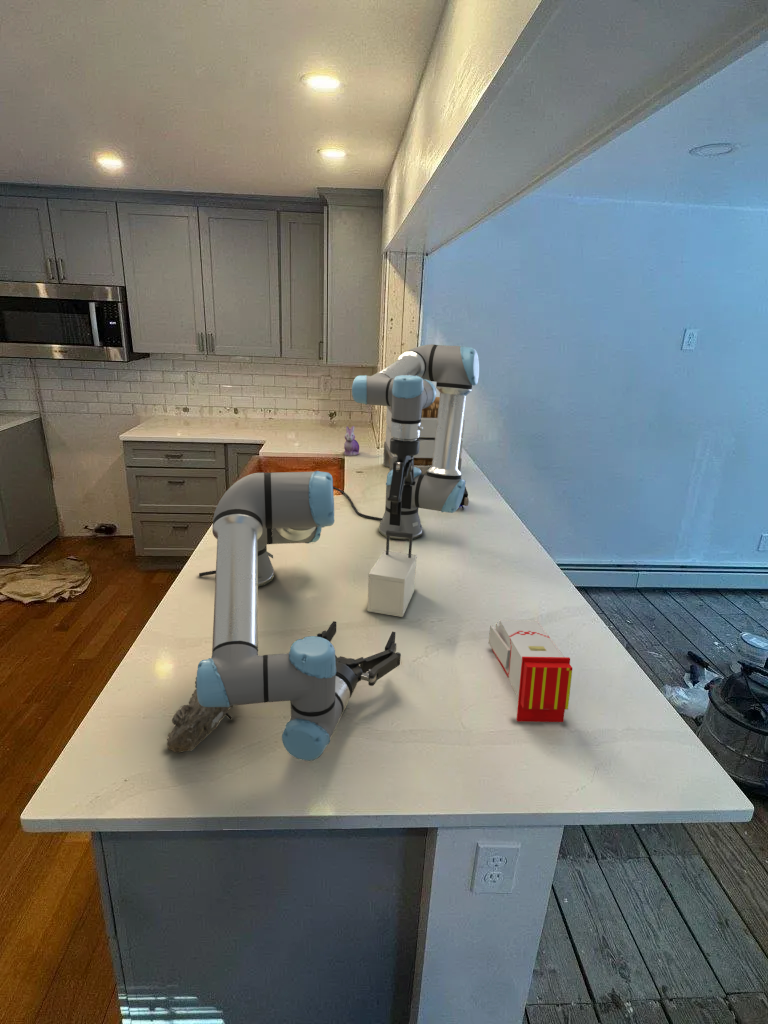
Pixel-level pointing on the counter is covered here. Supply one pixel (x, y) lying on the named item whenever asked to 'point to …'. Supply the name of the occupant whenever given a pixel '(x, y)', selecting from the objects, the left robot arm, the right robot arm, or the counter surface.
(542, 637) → the toy
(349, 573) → the counter surface
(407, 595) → the chest
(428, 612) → the counter surface
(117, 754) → the counter surface
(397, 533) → the lid
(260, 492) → the left robot arm
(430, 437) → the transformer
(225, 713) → the fossil
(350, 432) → the figurine
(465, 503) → the figurine character
